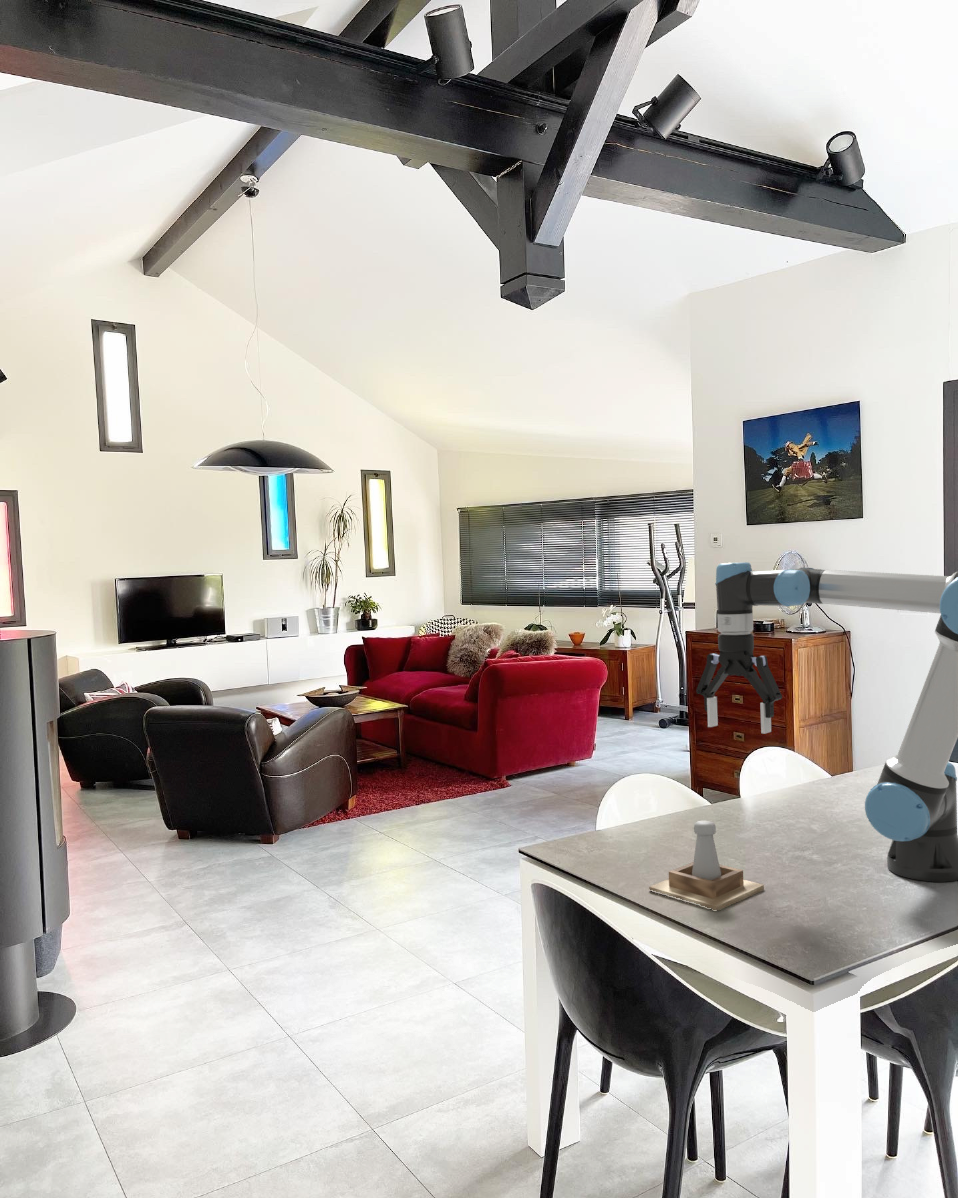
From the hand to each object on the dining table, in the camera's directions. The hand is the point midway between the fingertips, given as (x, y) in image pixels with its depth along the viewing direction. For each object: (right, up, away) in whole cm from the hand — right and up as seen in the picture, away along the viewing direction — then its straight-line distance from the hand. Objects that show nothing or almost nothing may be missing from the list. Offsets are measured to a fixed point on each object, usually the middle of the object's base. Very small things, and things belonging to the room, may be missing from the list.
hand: (738, 729), depth 204 cm
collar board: (-11, -30, -18) cm, 37 cm away
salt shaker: (-11, -29, -18) cm, 36 cm away
